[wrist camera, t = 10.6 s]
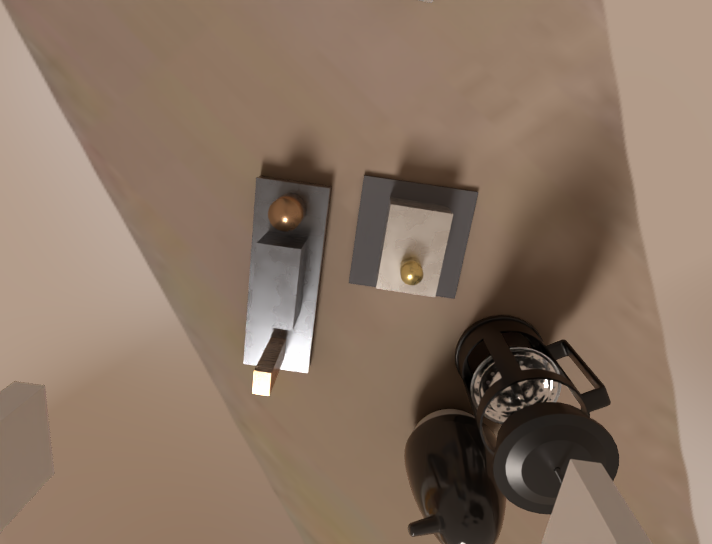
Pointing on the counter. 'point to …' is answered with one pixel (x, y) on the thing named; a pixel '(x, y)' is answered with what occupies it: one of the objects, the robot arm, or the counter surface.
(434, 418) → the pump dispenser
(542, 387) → the french press
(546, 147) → the counter surface
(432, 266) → the white box with knob
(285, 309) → the grey stand
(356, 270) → the mat
